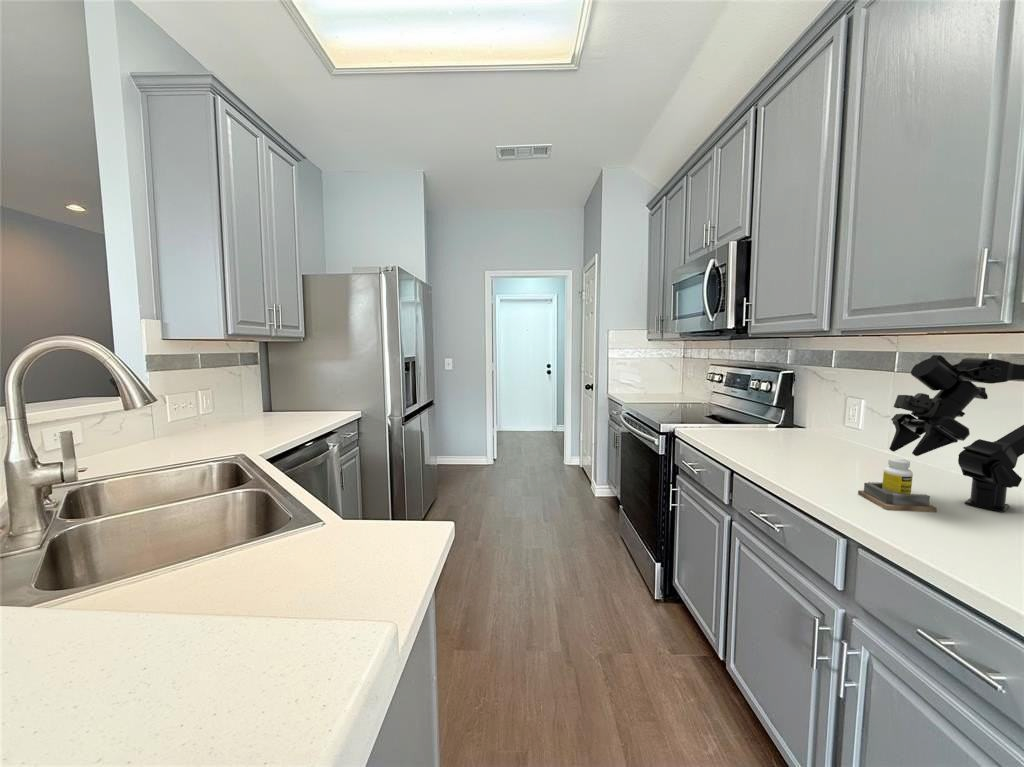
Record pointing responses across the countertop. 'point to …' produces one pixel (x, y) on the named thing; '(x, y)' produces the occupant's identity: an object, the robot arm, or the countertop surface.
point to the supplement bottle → (897, 477)
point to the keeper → (896, 499)
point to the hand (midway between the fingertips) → (902, 452)
